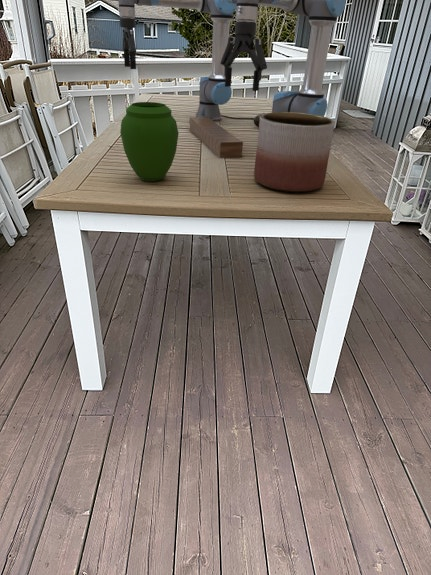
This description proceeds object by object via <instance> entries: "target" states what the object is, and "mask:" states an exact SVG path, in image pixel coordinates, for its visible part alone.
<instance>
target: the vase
mask: <svg viewBox="0 0 431 575" xmlns="http://www.w3.org/2000/svg"><path fill="white" fill-rule="evenodd" d="M125 113H126V114H125V115H124V117H122V119H121V122H120V123H121V124H120V130H119V133H120V138H121V142H122V147H123V150H124V154H125V155H126V158H127V160H128V163H129V165H130V167H131V168H132V170H133V172H134V173H135V175H136V176H137V177H138V178H139V179H141V180H143V181H145V182H159V181H161V180H163V179H164V178H165V176H166V175H167V174H168V173H169V170H170V169H171V167H172V165H173V162H174V159H175V157H176V156H175V155H176V153H177V147H178V140H179V129H178V122H177V120H176V119H175V117H174V116H173V115H172V109H171V108H170V107H169V106H167V105H166V104H164V103H162V102H155V101H138V102H132V103H131V104H130V105H128V107H127V108H125Z"/></svg>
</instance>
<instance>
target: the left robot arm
mask: <svg viewBox="0 0 431 575" xmlns="http://www.w3.org/2000/svg"><path fill="white" fill-rule="evenodd" d="M117 2H118V9H117V12H118V14H119V27H120V28H123V29H122V51H123V63H124V68H126V67H127V68H130V70H137V60H136V59H137V58H136V57H137V56H136V55H137V54H136V53H137V45H136V40H135V30H134V29H136V28H137V25H136V19H135V18H136V6H139V7H142V6H145V7H159V8H160V7H161V8H173V9H188V10H196V11H197V12H200V13H206V14H209V15H210V20H211V21H212V23H213V24H212V51H211V52H212V54H211V74H210V75H209V76H202V77H200V78H199V94H198V95H199V99H198V101H199V103H198V104H199V105H198V107H197V111H196V113H195V117H208V118H209V119H211V120H212V121H214V122H218V121H221V120H222V118H226V119H232V120H253V119H254V118H255V117H233V116H228V115H223V114H221V110H220V107H219V106H222V105H225V104H227V103H228V102H229V101H230V100H231V98H232V94H233V91H232V86H229V87H225V76H224V71H225V67H224V65H221V60H222V57H223V55H224V52H225V49H226V47H227V44H228V38H229V37H230V25H231V22H232V21H233V20H234V12H236V6H237V3H236V4H233V3H228V2H227V1H226V0H117ZM135 5H136V6H135Z"/></svg>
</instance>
